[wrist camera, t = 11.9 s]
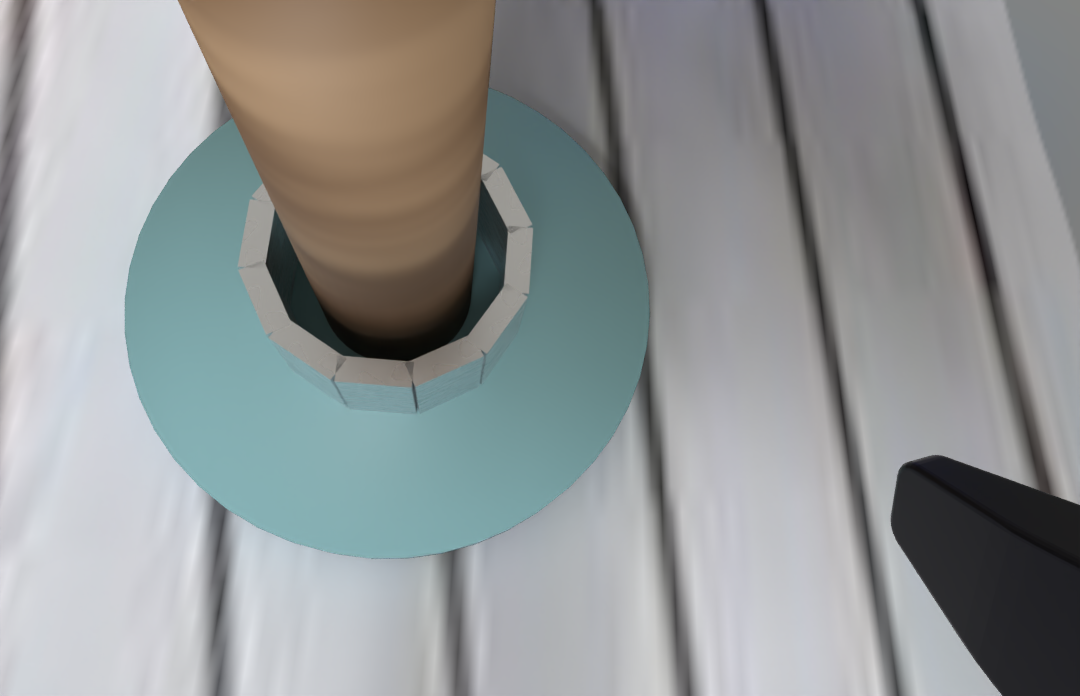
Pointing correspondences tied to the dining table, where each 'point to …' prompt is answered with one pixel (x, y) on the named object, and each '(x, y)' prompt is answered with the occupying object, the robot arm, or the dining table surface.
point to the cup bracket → (389, 385)
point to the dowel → (365, 150)
